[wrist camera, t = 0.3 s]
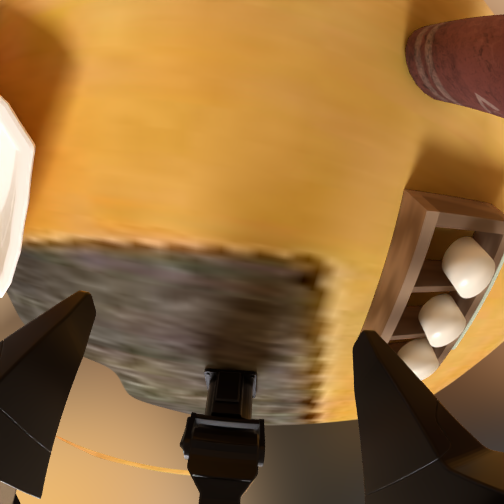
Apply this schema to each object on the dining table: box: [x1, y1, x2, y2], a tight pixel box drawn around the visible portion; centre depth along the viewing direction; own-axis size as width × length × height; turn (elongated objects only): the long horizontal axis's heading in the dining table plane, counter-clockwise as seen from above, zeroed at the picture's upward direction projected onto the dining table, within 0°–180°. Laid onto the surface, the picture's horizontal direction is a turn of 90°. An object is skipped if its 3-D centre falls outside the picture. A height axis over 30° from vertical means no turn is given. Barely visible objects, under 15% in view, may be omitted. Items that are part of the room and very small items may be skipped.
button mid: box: [418, 294, 466, 347], centre depth 21 cm, size 4×4×3 cm
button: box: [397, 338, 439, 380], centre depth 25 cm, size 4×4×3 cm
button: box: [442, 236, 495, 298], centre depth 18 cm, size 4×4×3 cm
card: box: [451, 254, 504, 350], centre depth 24 cm, size 14×1×4 cm, turn 179°
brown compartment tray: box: [361, 189, 504, 367], centre depth 24 cm, size 20×11×4 cm, turn 179°
